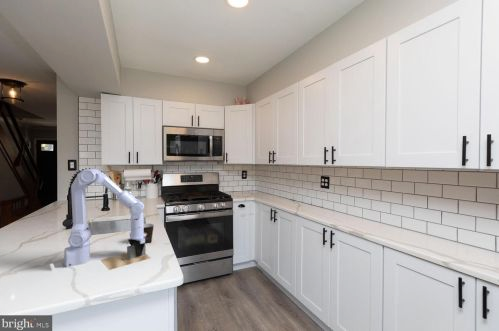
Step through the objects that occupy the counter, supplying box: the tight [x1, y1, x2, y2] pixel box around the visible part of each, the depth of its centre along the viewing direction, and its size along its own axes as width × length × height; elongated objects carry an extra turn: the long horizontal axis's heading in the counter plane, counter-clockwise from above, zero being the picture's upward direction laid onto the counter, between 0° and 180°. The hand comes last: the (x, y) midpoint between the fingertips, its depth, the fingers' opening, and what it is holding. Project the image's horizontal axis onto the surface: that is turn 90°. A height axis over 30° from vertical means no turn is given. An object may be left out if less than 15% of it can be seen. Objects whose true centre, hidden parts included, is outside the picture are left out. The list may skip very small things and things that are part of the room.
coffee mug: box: [144, 223, 155, 245], centre depth 137 cm, size 12×9×10 cm
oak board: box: [100, 252, 152, 271], centre depth 111 cm, size 18×14×1 cm
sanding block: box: [126, 244, 147, 260], centre depth 114 cm, size 7×4×5 cm, turn 135°
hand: (137, 254), depth 115 cm, fingers closed on sanding block, 4 cm apart
